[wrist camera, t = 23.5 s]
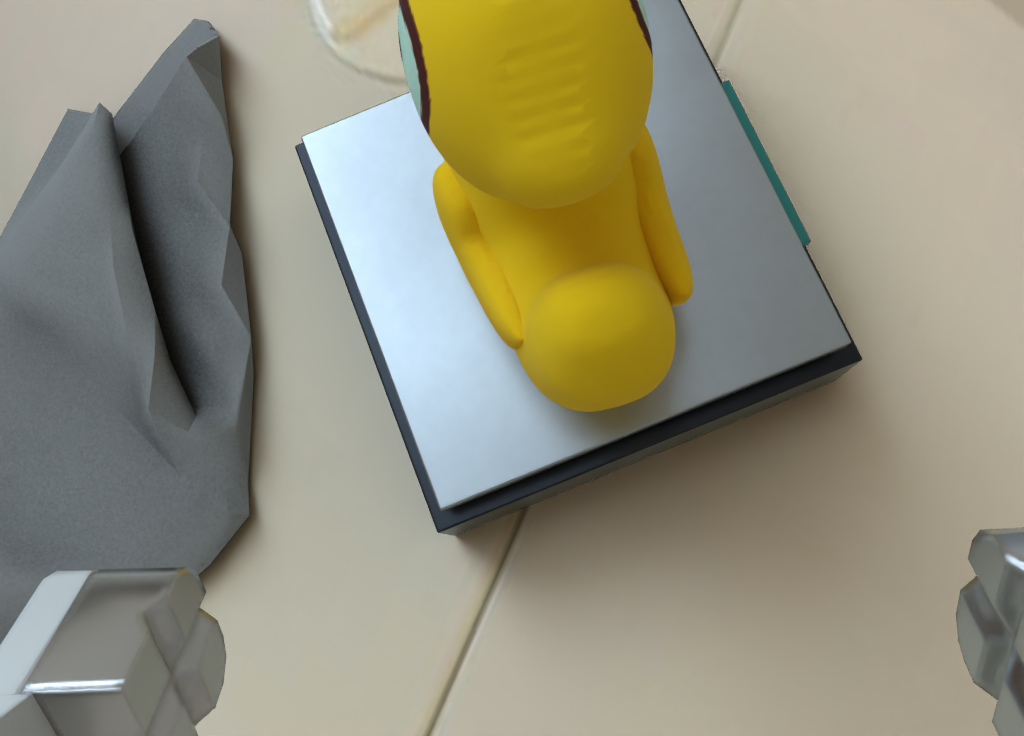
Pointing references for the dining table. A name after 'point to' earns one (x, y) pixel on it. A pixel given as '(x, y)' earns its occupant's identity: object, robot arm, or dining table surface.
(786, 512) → the dining table surface
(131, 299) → the cloth
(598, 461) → the scale
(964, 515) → the dining table surface
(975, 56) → the dining table surface
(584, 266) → the duckling
